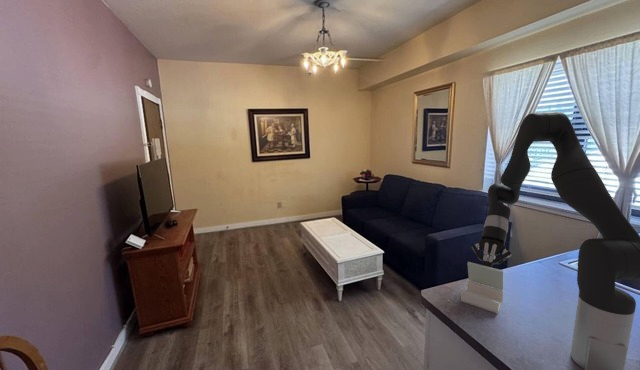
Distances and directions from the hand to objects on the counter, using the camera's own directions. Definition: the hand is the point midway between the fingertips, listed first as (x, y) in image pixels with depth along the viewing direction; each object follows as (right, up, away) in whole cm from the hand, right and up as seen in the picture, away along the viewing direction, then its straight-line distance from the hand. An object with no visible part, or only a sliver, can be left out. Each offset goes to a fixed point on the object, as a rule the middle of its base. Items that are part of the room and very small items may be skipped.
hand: (485, 272), depth 93 cm
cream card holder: (-2, -10, -1) cm, 10 cm away
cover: (0, -1, 0) cm, 1 cm away
